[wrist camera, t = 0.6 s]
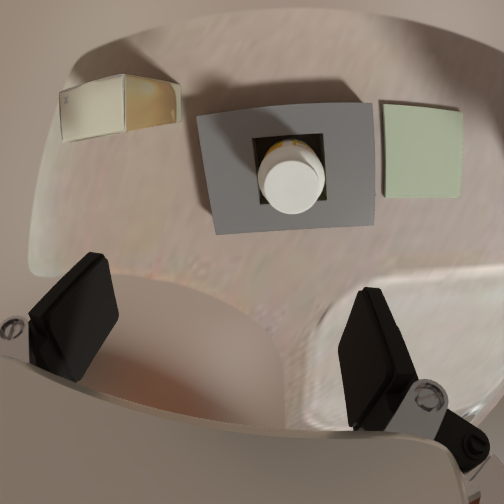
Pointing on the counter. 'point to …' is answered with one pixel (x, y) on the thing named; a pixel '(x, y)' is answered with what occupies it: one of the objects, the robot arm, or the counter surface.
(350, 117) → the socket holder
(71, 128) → the skincare box
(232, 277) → the counter surface
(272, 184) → the supplement bottle
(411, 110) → the rubber mat
